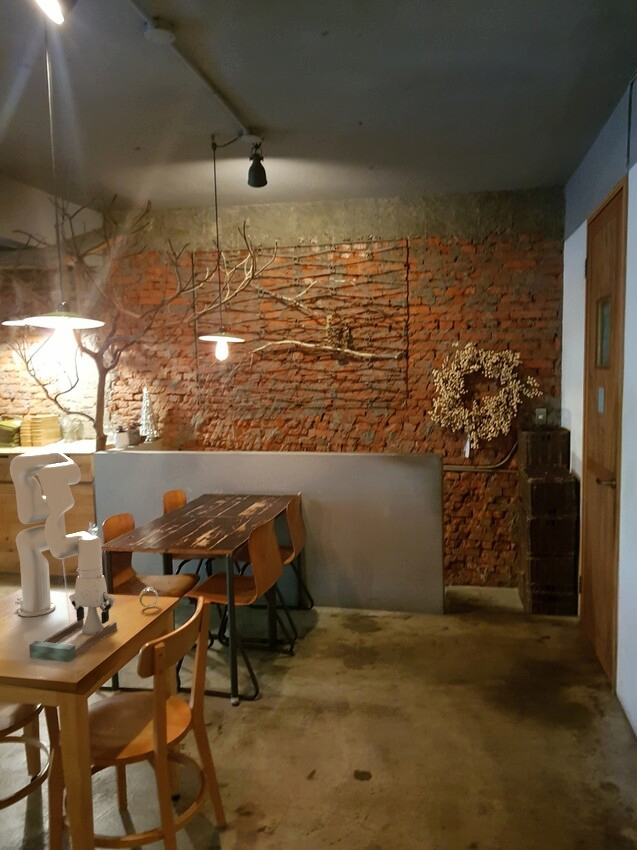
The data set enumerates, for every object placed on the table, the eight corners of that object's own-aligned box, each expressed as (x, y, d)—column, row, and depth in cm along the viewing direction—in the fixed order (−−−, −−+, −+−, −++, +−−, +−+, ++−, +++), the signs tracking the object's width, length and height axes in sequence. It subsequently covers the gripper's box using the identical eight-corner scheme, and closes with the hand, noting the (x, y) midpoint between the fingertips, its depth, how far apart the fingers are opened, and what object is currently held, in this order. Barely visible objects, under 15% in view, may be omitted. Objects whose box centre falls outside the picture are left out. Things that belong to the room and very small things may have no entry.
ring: (157, 604, 229) (157, 584, 229) (159, 607, 226) (158, 586, 226) (139, 607, 226) (138, 587, 226) (140, 610, 223) (139, 589, 223)
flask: (104, 625, 211) (102, 597, 210) (104, 633, 204) (103, 604, 203) (82, 628, 208) (80, 600, 207) (81, 636, 201) (80, 607, 201)
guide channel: (29, 657, 187) (29, 645, 186) (80, 625, 211) (80, 614, 211) (69, 662, 183) (68, 649, 183) (116, 628, 207) (116, 617, 207)
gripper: (61, 574, 203) (64, 623, 204) (106, 577, 199) (108, 627, 200) (75, 567, 210) (78, 614, 212) (119, 570, 206) (121, 618, 207)
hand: (92, 620), depth 206 cm, fingers open, 9 cm apart
